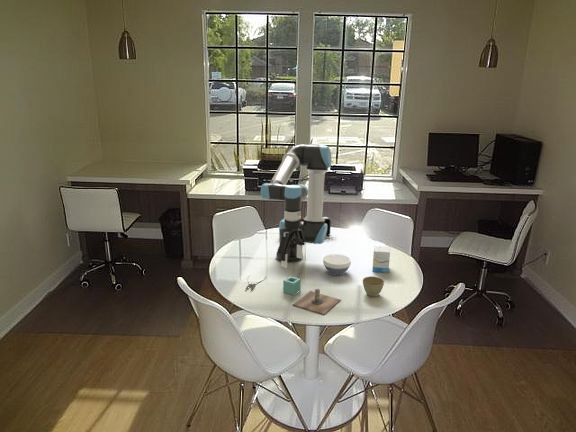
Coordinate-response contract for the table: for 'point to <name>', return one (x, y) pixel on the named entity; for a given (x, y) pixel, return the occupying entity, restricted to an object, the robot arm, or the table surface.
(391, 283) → the table surface
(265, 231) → the table surface
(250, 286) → the pliers
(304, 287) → the table surface
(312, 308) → the post block
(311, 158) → the robot arm
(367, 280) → the flower pot
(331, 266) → the bowl
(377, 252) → the ink box
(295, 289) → the collar
